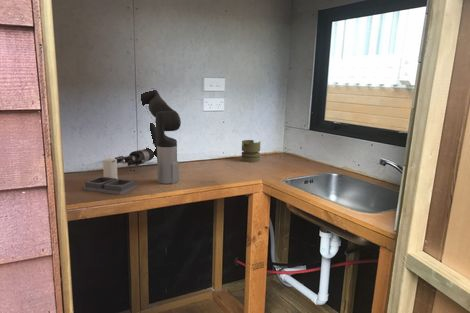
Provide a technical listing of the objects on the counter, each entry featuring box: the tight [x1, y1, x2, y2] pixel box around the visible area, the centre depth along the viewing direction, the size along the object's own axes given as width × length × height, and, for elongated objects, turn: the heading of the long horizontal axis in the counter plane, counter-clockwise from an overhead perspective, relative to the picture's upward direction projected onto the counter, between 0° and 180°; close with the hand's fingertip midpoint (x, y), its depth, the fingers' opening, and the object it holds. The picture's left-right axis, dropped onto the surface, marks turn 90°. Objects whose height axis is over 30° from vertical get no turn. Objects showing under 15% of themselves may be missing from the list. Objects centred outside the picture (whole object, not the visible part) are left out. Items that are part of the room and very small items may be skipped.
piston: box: [241, 139, 261, 164], centre depth 225 cm, size 11×12×11 cm
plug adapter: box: [102, 157, 119, 179], centre depth 174 cm, size 4×5×10 cm
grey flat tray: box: [82, 176, 138, 195], centre depth 161 cm, size 19×12×3 cm, turn 71°
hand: (120, 163), depth 182 cm, fingers open, 8 cm apart
